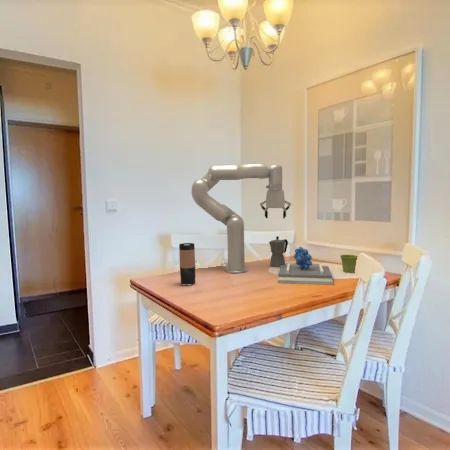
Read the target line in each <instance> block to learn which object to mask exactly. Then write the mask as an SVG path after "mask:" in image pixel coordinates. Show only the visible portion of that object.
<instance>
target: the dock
mask: <svg viewBox="0 0 450 450" xmlns="http://www.w3.org/2000/svg"><path fill="white" fill-rule="evenodd" d="M277 283H278V284H294V285H295V284H299V285H325V286H327V285H329V286H330V285H331V286H333V285H334V281H333V275H332V272H331V270H330V267H329V265H322V263H313V262H312V265H311V266H309V269H308V270H307V269H305V268H304V269H301V268H300V265H297V264H296V262H288V263H287V265H286V264H285V265H281V267H279V272H278V278H277Z"/></svg>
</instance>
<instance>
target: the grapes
mask: <svg viewBox="0 0 450 450" xmlns="http://www.w3.org/2000/svg"><path fill="white" fill-rule="evenodd" d="M293 258H294V260H295V263H296V264H297V265H300V268H301V269H304V268H305V269H307V270H308V269H309V266H311V265H312V263H313V262H312V255H311V254H309V250H308V249H306V248H304V247H303V246H299V247H298V248H295V250H294V254H293Z"/></svg>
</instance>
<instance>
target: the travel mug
mask: <svg viewBox="0 0 450 450" xmlns="http://www.w3.org/2000/svg"><path fill="white" fill-rule="evenodd" d="M195 249H196V248H195V243H194V242H184V243H179V245H178V250H179V252H178V253H179V274H180V284H194V283H195V284H196V252H195ZM195 284H194V285H195Z"/></svg>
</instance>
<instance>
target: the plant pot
mask: <svg viewBox="0 0 450 450" xmlns="http://www.w3.org/2000/svg"><path fill="white" fill-rule="evenodd" d="M339 257H340V260H341V264H342V272H344V273H347V272H351V273H355V272H356V267H355V266H356V265H357V261H356V260H358V258H359V255H354V254H340V256H339ZM357 257H358V258H357ZM354 271H355V272H354Z"/></svg>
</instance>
